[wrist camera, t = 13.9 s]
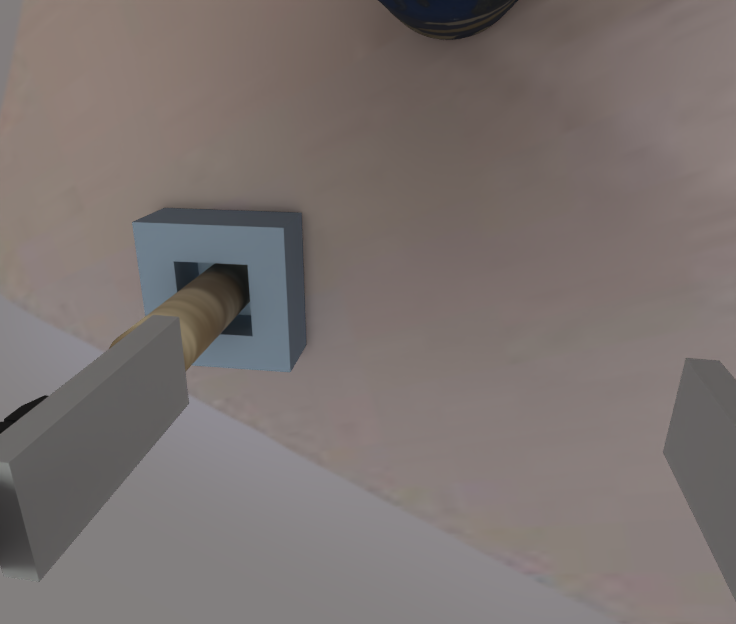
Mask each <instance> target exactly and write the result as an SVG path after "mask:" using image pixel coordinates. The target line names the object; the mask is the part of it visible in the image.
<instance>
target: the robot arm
mask: <svg viewBox="0 0 736 624" xmlns="http://www.w3.org/2000/svg"><path fill="white" fill-rule="evenodd" d="M188 404H189V398H188V389H187V381H186V372H185V363H184V355H183V346H182V337H181V329H180V320H179V317H175V316H163V315H152V316H151V317H150V318H148V319H147V320H146V321H144V322H143V323H142V324H141V325H139V326H138V327H137V328H135V329H134V330H133V331H132V332H130V333H129V334H128V335H126V336H125V337H124V338H123V339H121V340H120V341H119V342H118V343H116V344H115V345H114V346H112V347H111V348H110V349H109V350H107V351H106V352H105V353H103V354H102V355H101V356H100V357H98V358H97V359H96V360H94V361H93V362H92V363H91V364H89V365H88V366H87V367H86V368H84V369H83V370H82V371H80V372H79V373H78V374H77V375H75V376H74V377H73V378H71V379H70V380H69V381H68V382H66V383H65V384H64V385H62V386H61V387H60V388H59V389H57V390H56V391H55V392H53V393H52V394H51V395H50V396H42V397H40V398H38V399H36V400H34V401H32V402H29V403H27V404H25V405H23V406H21V407H19V408H18V409H17V410H16V411H14V412H13V413H12V414H10V415H9V416H8V417H6V418H5V419H4V422H0V566H1V569H2V573H3V576H5V577H12V578H18V579H25V580H32V581H38V582H40V580H41V579H42V578H43V577H44V576H45V574H46V573H47V572H48V571H49V570H50V569H51V567H52V566H53V565H54V564H55V563H56V561H57V560H58V559H59V558H60V557H61V555H62V554H63V553H64V552H65V551H66V549H67V548H68V547H69V546H70V545H71V544H72V542H73V541H74V540H75V539H76V538H77V536H78V535H79V534H80V533H81V532H82V530H83V529H84V528H85V527H86V526H87V524H88V523H89V522H90V521H91V520H92V518H93V517H94V516H95V515H96V514H97V513H98V511H99V510H100V509H101V508H102V506H103V505H104V504H105V503H106V502H107V501H108V499H109V498H110V497H111V496H112V495H113V493H114V492H115V491H116V490H117V489H118V487H119V486H120V485H121V484H122V483H123V481H124V480H125V479H126V478H127V477H128V476H129V474H130V473H131V472H132V471H133V470H134V468H135V467H136V466H137V465H138V464H139V463H140V461H141V460H142V459H143V458H144V456H145V455H146V454H147V453H148V452H149V451H150V449H151V448H152V447H153V446H154V445H155V443H156V442H157V441H158V440H159V439H160V438H161V436H162V435H163V434H164V433H165V432H166V430H167V429H168V428H169V427H170V426H171V424H172V423H173V422H174V421H175V420H176V418H177V417H178V416H179V415H180V414H181V413H182V411H183V410H184V409H185V408H186V407H187V405H188ZM663 453H664V455H665V457H666V459H667V462H668V464H669V466H670V468H671V470H672V472H673V474H674V476H675V478H676V480H677V482H678V484H679V486H680V488H681V490H682V492H683V494H684V496H685V498H686V501H687V503H688V505H689V507H690V509H691V511H692V513H693V515H694V517H695V519H696V521H697V523H698V525H699V527H700V529H701V531H702V533H703V535H704V537H705V539H706V542H707V544H708V546H709V548H710V550H711V552H712V554H713V556H714V558H715V560H716V562H717V564H718V566H719V568H720V570H721V572H722V574H723V576H724V578H725V581H726V583H727V585H728V587H729V589H730V591H731V593H732V595H733V597H734V599H735V601H736V380H735V379H734V378H733V376H732V375H731V374H730V373H729V371H728V370H727V369H726V368H725V367H724V365H723V364H722V363H721V362H720V361H717V360H705V359H693V358H686V360H685V364H684V368H683V372H682V376H681V380H680V384H679V388H678V393H677V397H676V401H675V405H674V409H673V413H672V417H671V421H670V425H669V429H668V434H667V438H666V442H665V446H664V450H663Z"/></svg>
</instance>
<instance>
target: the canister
mask: <svg viewBox="0 0 736 624" xmlns="http://www.w3.org/2000/svg"><path fill="white" fill-rule="evenodd" d="M378 1H379V2H381V3H382V4H383V5H384V6H385V7H386V8H387V9H388V10H389V11H390V12H391V13H392V14H393V15H394V16H395V17H396V18H398V19H399V20H400V21H401V22H402V23H404V24H405V25H406V26H408V27H409V28H410V29H412V30H414V31H415V32H417V33H420V34H422V35H424V36H427V37H431V38H436V39H445V40H453V39H461V38H465V37H469V36H472V35H475V34H477V33H479V32H482V31H483V30H485V29H487V28H489V27H490V26H491V25H493V24H494V23H495V22H496V21H498V20H499V19H500V18H501V17H502V16H503V15H504V14H505V13H506V12H507V11H508V10H509V9H510V8H511V7H512V6H513V5H514V4H515V3H516V2H517V1H518V0H378Z"/></svg>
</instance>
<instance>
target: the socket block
mask: <svg viewBox="0 0 736 624" xmlns="http://www.w3.org/2000/svg"><path fill="white" fill-rule="evenodd" d="M132 225H133V232H134V239H135V246H136V253H137V260H138V267H139V274H140V281H141V289H142V296H143V303H144V310H145V316H147V315H148V314H149V313H151V312H152V311H153V310H154V309H156V308H157V307H158V306H160V305H161V304H162V303H164V302H165V301H166V300H168V299H169V298H170V297H171V296H173V295H174V294H175V293H177V292H178V291H179V290H181V289H182V288H183V287H185V286H186V285H187V284H188V283H190V282H191V281H192V280H194V279H195V278H196V277H198V276H199V275H200V274H202V273H203V272H204V271H205V270H207V269H208V268H209V267H211V266H212V265H213V264H215V263H220V264H241V265H248V279H249V293H250V302H249V303H248V304H247V305H246V306H245V308H244V309H243V310H242V311H241V312H240V313H239V314H238V315H237V316H236V317H235V318H234V319H233V321H232V322H231V323H230V324H229V325H228V326H227V327H226V328H225V329H224V330H223V331H222V332H221V334H220V335H219V336H218V337H217V338H216V339H215V340H214V341H213V342H212V343H211V344H210V345H209V347H208V348H207V349H206V350H205V351H204V352H203V353H202V354H201V355H200V356H199V357H198V358H197V360H196V361H195V362H194V363H193V364H192V365H195V366H209V367H223V368H237V369H252V370H266V371H280V372H291V370H292V369H293V367H294V365H295V364H296V362H297V360H298V358H299V357H300V355H301V353H302V351H303V350H304V348H305V346H306V324H305V296H304V269H303V241H302V214H301V213H296V212H267V211H238V210H210V209H181V208H163V209H161V210H158V211H156V212H154V213H152V214H149V215H147V216H145V217H143V218H140V219H138V220H136V221H134V222H132Z"/></svg>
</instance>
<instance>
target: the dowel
mask: <svg viewBox="0 0 736 624" xmlns="http://www.w3.org/2000/svg"><path fill="white" fill-rule="evenodd" d="M249 302H250V293H249V279H248V265H241V264H220V263H215V264H213V265H212V266H211V267H209V268H208V269H207V270H205V271H204V272H203V273H202V274H200V275H199V276H198V277H196V278H195V279H194V280H192V281H191V282H190V283H188V284H187V285H186V286H185V287H183V288H182V289H181V290H179V291H178V292H177V293H175V294H174V295H173V296H171V297H170V298H169V299H168V300H166V301H165V302H164V303H162V304H161V305H160V306H158V307H157V308H156V309H154V310H153V311H152V312H151V313H149V314H148V315H147V316H145V317H144V318H143V319H141V320H140V321H139V322H137V323H136V324H135V325H134V326H132V327H131V328H130V329H128V330H127V331H126V332H124V333H123V334H122V335H121V336H119V337H118V338H117V339H116V340H114V341H113V343H112V344H111V346H110V348H111V347H112V346H114V345H115V344H116V343H118V342H119V341H120V340H121V339H123V338H124V337H125V336H126V335H128V334H129V333H130V332H132V331H133V330H134V329H135V328H137V327H138V326H139V325H141V324H142V323H143V322H144V321H146V320H147V319H148V318H150V317H151V316H152V315H163V316H175V317H179V320H180V329H181V337H182V346H183V355H184V363H185V372H186V370H187V369H188V368H189V367H190V366H191V365H192V364H193V363H194V362H195V361H196V360H197V358H198V357H199V356H200V355H201V354H202V353H203V352H204V351H205V350H206V349H207V348H208V347H209V345H210V344H211V343H212V342H213V341H214V340H215V339H216V338H217V337H218V336H219V335H220V334H221V332H222V331H223V330H224V329H225V328H226V327H227V326H228V325H229V324H230V323H231V322H232V321H233V319H234V318H235V317H236V316H237V315H238V314H239V313H240V312H241V311H242V310H243V309H244V308H245V306H246V305H247V304H248V303H249ZM110 348H109V349H110Z"/></svg>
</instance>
